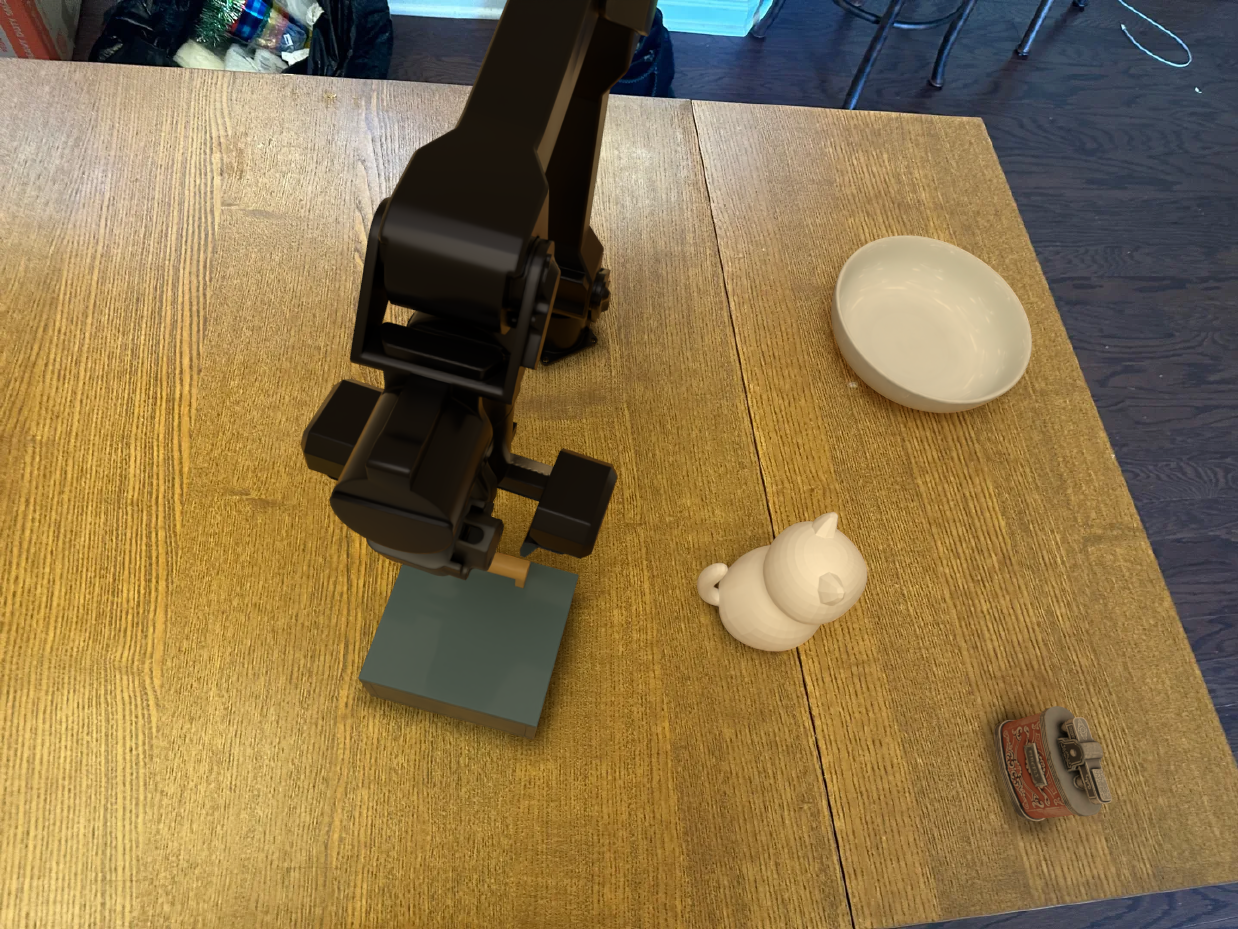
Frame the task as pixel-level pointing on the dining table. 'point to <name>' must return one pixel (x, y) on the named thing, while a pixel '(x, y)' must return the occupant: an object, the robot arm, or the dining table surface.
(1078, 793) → the lighter
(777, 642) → the cat figurine
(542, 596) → the chest lid
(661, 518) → the dining table surface
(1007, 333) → the serving bowl
